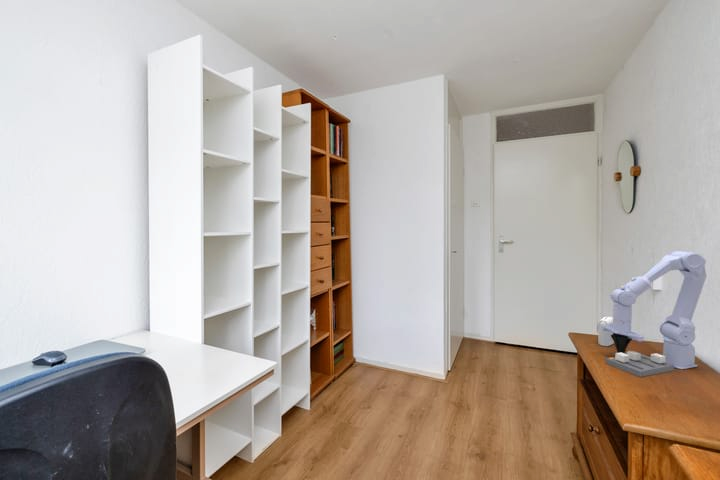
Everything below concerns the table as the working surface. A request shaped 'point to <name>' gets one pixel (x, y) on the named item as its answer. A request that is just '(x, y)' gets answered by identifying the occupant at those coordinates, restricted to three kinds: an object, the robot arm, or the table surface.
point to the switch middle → (634, 355)
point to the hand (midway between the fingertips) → (620, 353)
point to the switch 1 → (622, 357)
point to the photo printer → (605, 332)
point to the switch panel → (641, 366)
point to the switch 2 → (658, 358)
